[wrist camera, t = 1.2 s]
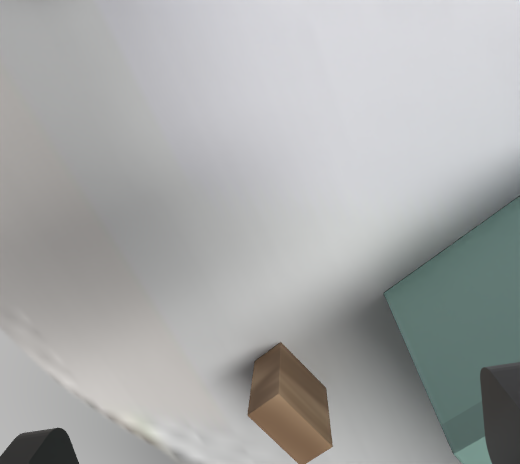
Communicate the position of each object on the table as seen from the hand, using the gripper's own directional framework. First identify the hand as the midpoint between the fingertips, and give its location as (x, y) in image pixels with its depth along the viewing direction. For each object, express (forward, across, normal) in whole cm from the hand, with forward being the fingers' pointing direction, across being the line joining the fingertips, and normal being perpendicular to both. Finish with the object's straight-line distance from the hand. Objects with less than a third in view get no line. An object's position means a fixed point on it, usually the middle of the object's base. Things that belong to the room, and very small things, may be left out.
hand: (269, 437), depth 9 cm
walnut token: (+21, +2, +12) cm, 25 cm away
